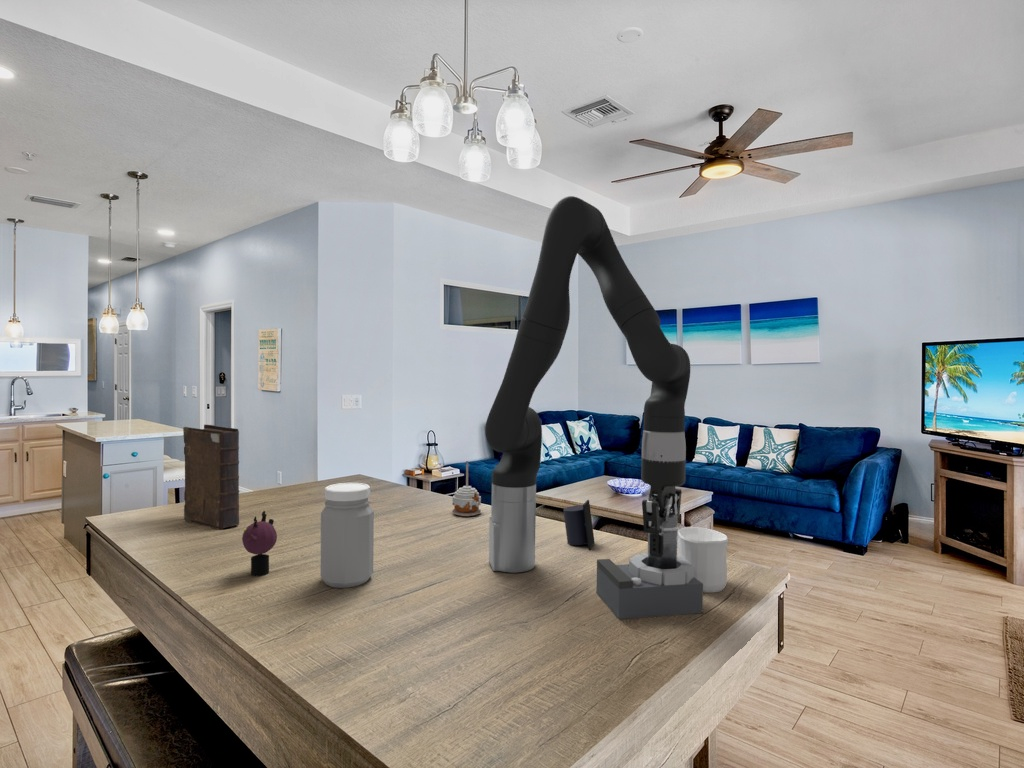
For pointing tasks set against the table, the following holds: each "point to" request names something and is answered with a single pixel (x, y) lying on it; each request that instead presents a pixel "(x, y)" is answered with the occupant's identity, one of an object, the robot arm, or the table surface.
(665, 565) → the lens
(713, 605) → the table surface
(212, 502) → the book
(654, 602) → the camera body
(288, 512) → the table surface
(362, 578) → the jar
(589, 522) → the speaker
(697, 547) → the cup
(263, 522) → the figurine
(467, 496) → the decorative ornament
